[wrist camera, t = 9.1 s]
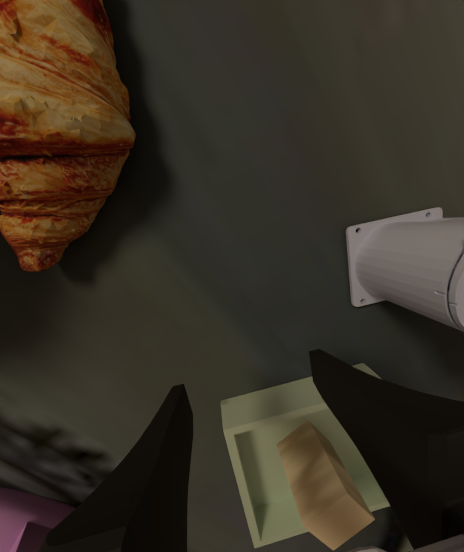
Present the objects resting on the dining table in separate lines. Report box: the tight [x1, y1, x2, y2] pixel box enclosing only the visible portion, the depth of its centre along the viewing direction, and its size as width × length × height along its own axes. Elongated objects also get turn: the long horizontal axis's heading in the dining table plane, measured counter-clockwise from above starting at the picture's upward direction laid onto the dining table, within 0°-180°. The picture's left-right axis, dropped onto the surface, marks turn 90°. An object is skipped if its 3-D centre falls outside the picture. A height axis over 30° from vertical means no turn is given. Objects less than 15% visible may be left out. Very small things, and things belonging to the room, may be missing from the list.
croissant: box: [0, 0, 136, 272], centre depth 14 cm, size 21×10×8 cm, turn 167°
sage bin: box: [221, 363, 390, 548], centre depth 24 cm, size 16×16×4 cm
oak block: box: [276, 420, 375, 551], centre depth 22 cm, size 4×4×7 cm
